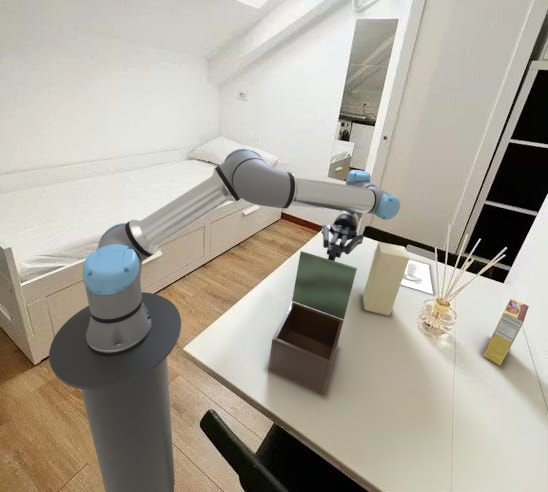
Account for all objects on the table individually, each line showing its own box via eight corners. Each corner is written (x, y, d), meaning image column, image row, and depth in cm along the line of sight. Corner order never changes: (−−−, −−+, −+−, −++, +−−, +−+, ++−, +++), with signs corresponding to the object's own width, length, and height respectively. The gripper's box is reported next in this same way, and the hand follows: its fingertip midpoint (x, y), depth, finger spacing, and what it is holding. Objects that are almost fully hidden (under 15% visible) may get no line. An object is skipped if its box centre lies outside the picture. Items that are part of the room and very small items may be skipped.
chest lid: (356, 269, 66) (357, 267, 67) (300, 252, 71) (301, 251, 72) (343, 319, 72) (344, 317, 72) (291, 301, 76) (292, 299, 77)
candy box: (489, 338, 84) (511, 297, 78) (507, 348, 82) (531, 306, 76) (481, 355, 79) (504, 311, 73) (499, 366, 76) (525, 322, 70)
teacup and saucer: (396, 276, 109) (399, 267, 107) (396, 265, 115) (399, 256, 114) (421, 283, 106) (424, 274, 104) (420, 272, 113) (423, 263, 111)
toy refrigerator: (387, 300, 96) (404, 245, 87) (390, 316, 89) (409, 258, 81) (362, 294, 97) (377, 240, 89) (363, 310, 90) (380, 252, 82)
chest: (324, 395, 64) (332, 364, 60) (268, 369, 68) (272, 339, 65) (336, 348, 76) (343, 320, 72) (287, 329, 80) (292, 301, 76)
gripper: (363, 239, 95) (353, 279, 75) (324, 229, 99) (304, 264, 79) (369, 219, 92) (359, 254, 72) (328, 209, 96) (308, 240, 76)
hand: (330, 259), depth 75 cm, fingers closed
